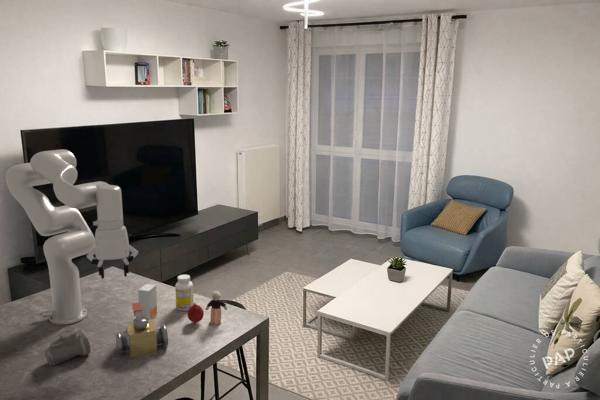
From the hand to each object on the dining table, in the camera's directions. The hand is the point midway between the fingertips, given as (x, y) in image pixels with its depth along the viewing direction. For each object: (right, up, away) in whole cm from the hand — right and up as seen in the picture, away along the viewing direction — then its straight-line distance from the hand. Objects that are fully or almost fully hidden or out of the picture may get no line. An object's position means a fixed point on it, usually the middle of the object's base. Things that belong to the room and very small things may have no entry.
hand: (114, 275), depth 158 cm
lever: (+8, -14, +2) cm, 16 cm away
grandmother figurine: (+31, -20, +17) cm, 41 cm away
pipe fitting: (-12, -25, -8) cm, 29 cm away
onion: (+23, -20, +17) cm, 35 cm away
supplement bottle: (+16, -17, +29) cm, 37 cm away
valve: (+10, -24, -1) cm, 26 cm away
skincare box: (+5, -19, +20) cm, 28 cm away
